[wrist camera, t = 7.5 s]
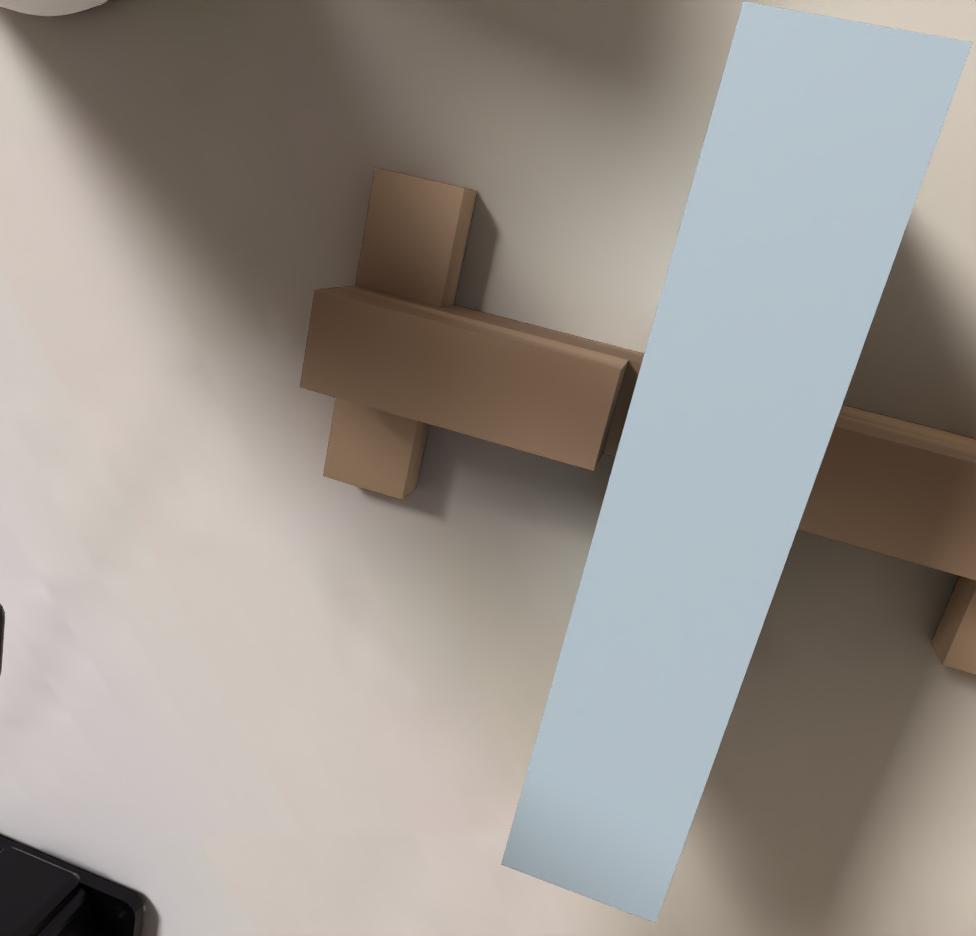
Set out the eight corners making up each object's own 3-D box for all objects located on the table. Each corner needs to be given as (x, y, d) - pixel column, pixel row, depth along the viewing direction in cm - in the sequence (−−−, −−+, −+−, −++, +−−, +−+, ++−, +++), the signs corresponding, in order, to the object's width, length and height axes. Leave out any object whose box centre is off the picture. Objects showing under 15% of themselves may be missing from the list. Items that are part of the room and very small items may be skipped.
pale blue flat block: (677, 669, 20) (655, 923, 12) (579, 637, 20) (501, 864, 13) (853, 136, 16) (972, 42, 9) (730, 110, 17) (743, 1, 9)
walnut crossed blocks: (1028, 672, 18) (1087, 751, 15) (340, 465, 21) (282, 499, 18) (1180, 352, 16) (1280, 375, 13) (391, 171, 19) (335, 157, 16)
